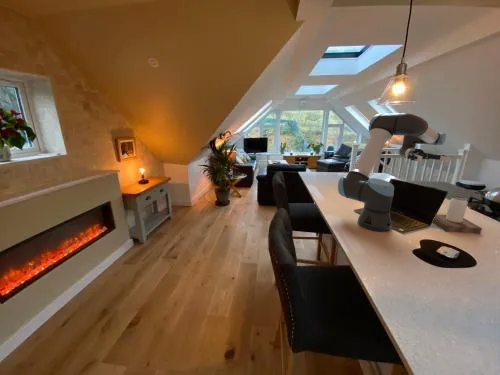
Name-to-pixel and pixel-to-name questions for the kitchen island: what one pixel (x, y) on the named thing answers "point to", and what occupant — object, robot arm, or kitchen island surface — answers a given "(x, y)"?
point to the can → (456, 209)
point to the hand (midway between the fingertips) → (434, 159)
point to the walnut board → (456, 225)
